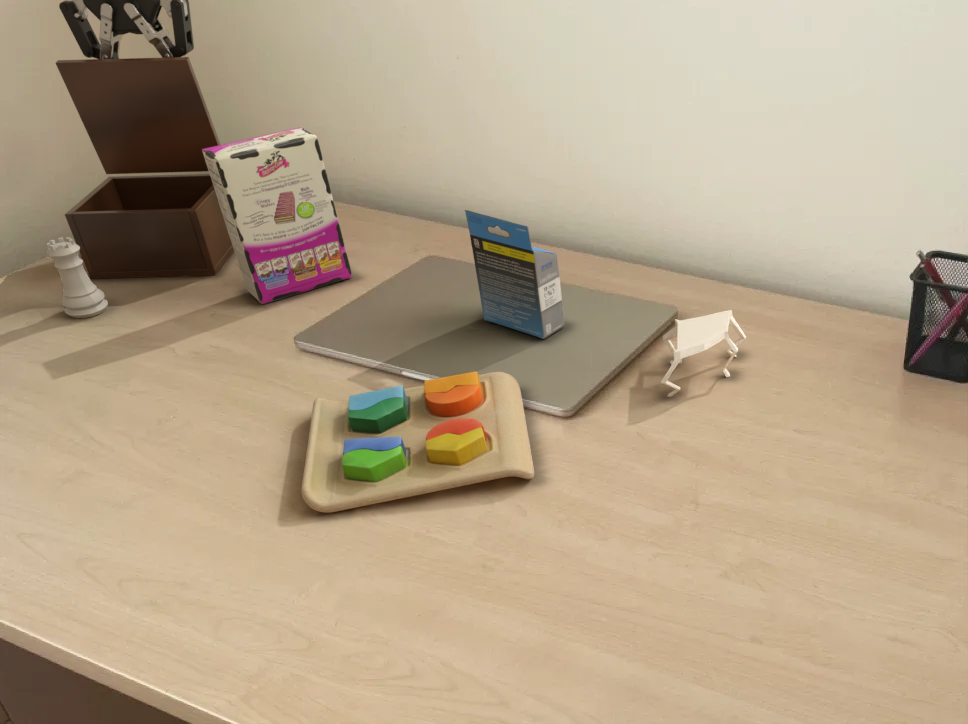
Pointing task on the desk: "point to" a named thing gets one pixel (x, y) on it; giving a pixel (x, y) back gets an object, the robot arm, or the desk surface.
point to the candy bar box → (279, 213)
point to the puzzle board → (415, 441)
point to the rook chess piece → (75, 281)
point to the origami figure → (700, 339)
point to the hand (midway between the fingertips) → (152, 93)
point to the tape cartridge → (515, 277)
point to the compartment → (151, 227)
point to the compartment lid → (141, 113)
